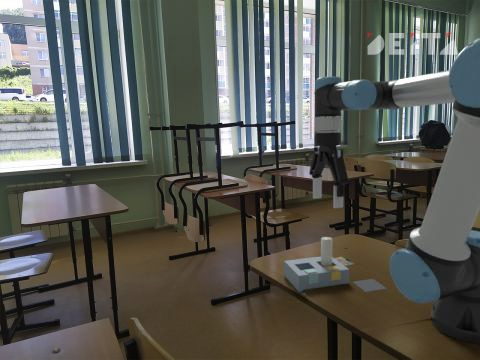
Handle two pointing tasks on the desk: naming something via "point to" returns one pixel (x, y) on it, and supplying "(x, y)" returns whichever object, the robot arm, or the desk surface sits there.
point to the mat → (369, 285)
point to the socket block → (314, 273)
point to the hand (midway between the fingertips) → (327, 202)
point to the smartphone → (344, 261)
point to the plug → (326, 251)
